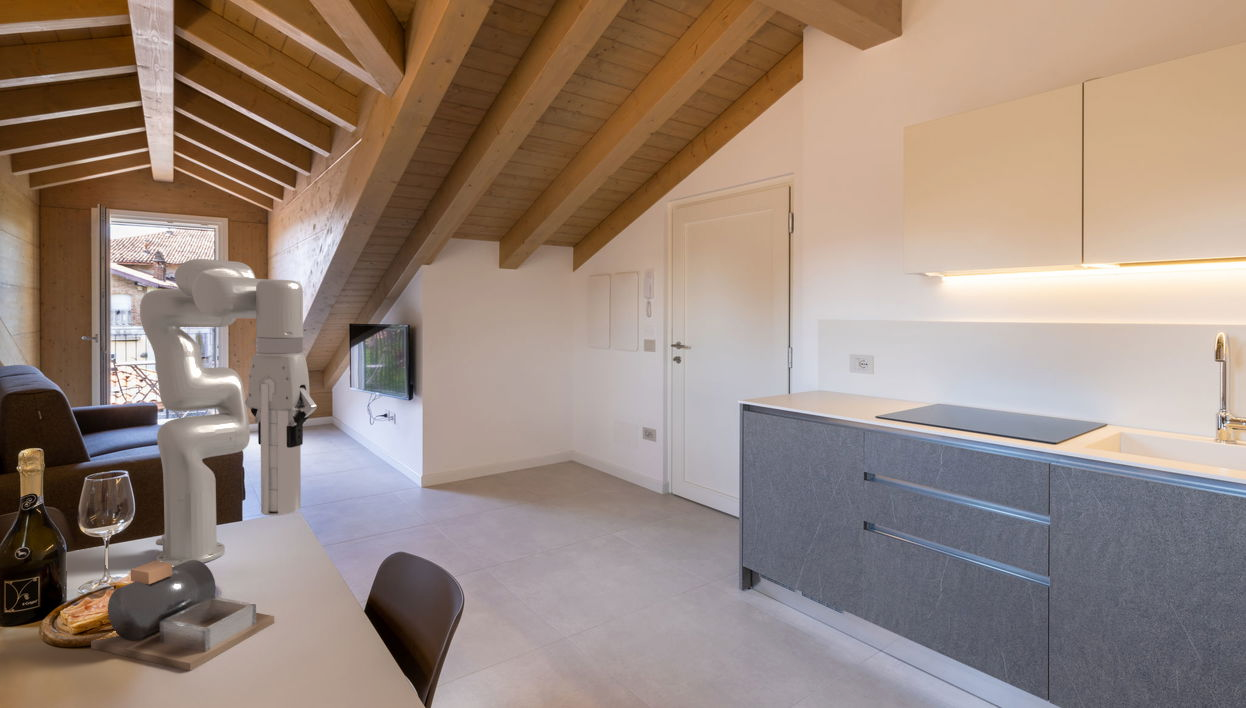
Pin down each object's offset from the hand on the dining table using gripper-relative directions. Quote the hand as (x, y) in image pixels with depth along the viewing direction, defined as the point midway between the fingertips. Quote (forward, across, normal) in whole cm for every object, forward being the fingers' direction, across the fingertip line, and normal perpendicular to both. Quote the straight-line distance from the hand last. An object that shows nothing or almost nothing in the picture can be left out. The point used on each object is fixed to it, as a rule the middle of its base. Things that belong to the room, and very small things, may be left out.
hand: (280, 443), depth 115 cm
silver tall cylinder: (+13, 0, 0) cm, 13 cm away
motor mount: (+31, -7, -13) cm, 35 cm away
